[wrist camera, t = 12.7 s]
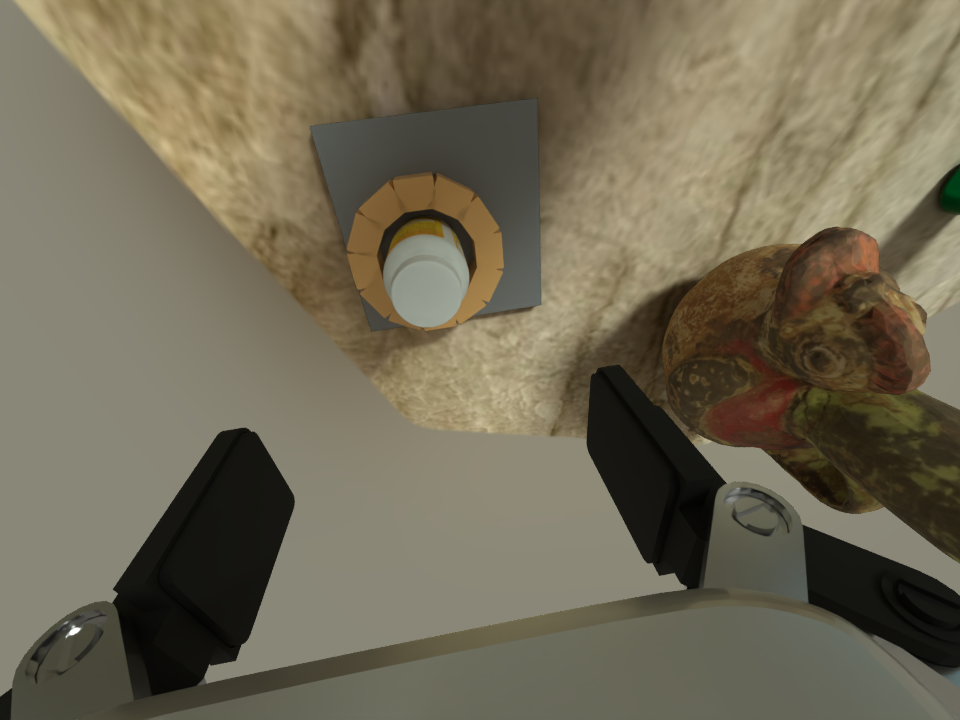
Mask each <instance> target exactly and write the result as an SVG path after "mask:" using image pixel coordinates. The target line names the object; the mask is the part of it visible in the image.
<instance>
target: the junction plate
mask: <svg viewBox="0 0 960 720" xmlns="http://www.w3.org/2000/svg"><path fill="white" fill-rule="evenodd" d="M310 130H311V133H312V136H313V140H314V143H315V146H316V150H317V153H318V156H319V160H320V163H321V166H322V169H323V173H324V176H325V179H326V183H327V186H328V189H329V193H330V196H331V199H332V203H333V206H334V209H335V213H336V216H337V219H338V223H339V226H340V229H341V233H342V236H343V239H344V243H345V246H346V249H347V246H348V242H349V238H350V234H351V230H352V226H353V222H354V218H355V215H356V212H357V211H358V210H359V208H360V206H361V205H362V204H363V203H364V202H365V201H366V200H367V199H368V198H370V197H371V196H372V195H373V194H374V193H375V192H376V191H377V190H378V189H380V188H381V187H382V186H383V185H384V184H385V183H386V182H387V181H389V180H390V179H391V180H392V181H393V179H394V177H396V176H403V175H411V174H419V173H426V172H432V174H433V180H434V179H435V176H436V173H439V174H441V175H443V176H445V177H447V178H450V179H452V180H454V181H456V182H458V183H460V184H462V185H464V186H467V187H469V188H471V190H472V191H473V192H475V193H476V194H477V195H478V197H479V198H480V199H481V201H482V202H483V204H484V205H485V207H486V208H487V210H488V211H489V213H490V214H491V216H492V217H493V219H494V220H495V222H496V223H497V225H498V226H499V227H500V228H499V230H500V231H501V234H502V248H503V261H504V268H501V269H502V271H503V274H502V276H501V278H500V280H499V282H498V284H497V286H496V289H495V291H494V293H493V295H492V297H491V299H490V301H489V302H487V301H485V303H486V306H485V307H484V308H482V309H481V310H480V311H478V312H477V313H475V314H474V315H481V314H487V313H494V312H500V311H507V310H513V309H519V308H526V307H532V306H539V305H541V257H540V203H539V148H538V98H533V99H524V100H516V101H508V102H500V103H492V104H484V105H476V106H468V107H460V108H452V109H444V110H435V111H427V112H419V113H411V114H403V115H395V116H387V117H379V118H371V119H363V120H355V121H347V122H338V123H330V124H322V125H314V126H310ZM418 216H432V217H436V218H438V219H441V220H443V221H444V222H446V223H447V224H448V225H449V226H450V227H451V228H452V229H453V230H454V231H455V233H456V235H457V237H458V239H459V241H460V244H461V247H462V250H463V253H464V256H465V259H466V262H467V266H468V269H469V267H470V264H471V262H472V259H473V251H472V242H471V236H470V235H469V234H468V232H467V231H466V230H465V228H464V227H463V226H462V224H461V223H460V221H459V220H458V219H455V218H453V217H451V216H448V215H446V214H444V213H441V212H439V211H437V210H435V209H426V210H419V211H412V212H405V213H404V214H403V215H401V216H400V217H399V218H398V219H397V220H396V221H394V222H393V223H392V224H391V225H390V226H389V227H387V228H386V229H385V232H384V235H383V238H382V242H381V245H380V248H381V252H382V256H383V260H384V264H385V261H386V258H387V254H388V251H389V247H390V244H391V241H392V238H393V236H394V234H395V232H396V230H397V229H398V228H399V226H400V225H401V224H403V223H404V222H405V221H407V220H409V219H411V218H414V217H418ZM348 252H349V251H348V250H347V253H348ZM360 291H361V289H359V292H360ZM360 296H361V295H360ZM361 299H362V302H363V306H364V309H365V312H366V316H367V319H368V322H369V326H370V329H371V332H372V331H378V330H385V329H391V328H397V327H404V325H401V324H397V323H394V322H391V321H388V320H389V315H388V316H387V317H386V318H384V317H383V316H382V315H381V314H380V313H379V312H378V311H377V310H376V309H375V308H374V307H373V306H372V305H371V304H370V303H369V302H367V301H366V300H365V299H364V298H363V297H362V296H361ZM474 315H473V316H474Z"/></svg>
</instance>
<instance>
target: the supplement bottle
mask: <svg viewBox="0 0 960 720" xmlns="http://www.w3.org/2000/svg"><path fill="white" fill-rule="evenodd" d="M383 281H384V286H385V289H386V292H387V294H388V296H389V298H390V299H391V301H392V304H393V306H394V308H395V310H396V312H397V313H398V314H399V315H400V316H401V317H402V318H403V319H404V320H405V321H407V322H408V323H410V324H412V325H415V326H418V327H436V326H440V325H442V324H444V323H446V322H447V321H449V320H450V319H451V318H452V317H453V316H454V315H455V314H456V313H457V311H458V309H459V307H460V305H461V302H462V300H463V299H464V297H465V295H466V293H467V290H468V286H469V270H468V266H467V262H466V259H465V256H464V253H463V250H462V247H461V244H460V241H459V239H458V237H457V235H456V233H455V231H454V230H453V229H452V228H451V227H450V226H449V225H448V224H447V223H446V222H444V221H443V220H441V219H438V218H436V217H432V216H418V217H414V218H411V219H409V220H407V221H405V222H404V223H403V224H401V225H400V226H399V228H398V229H397V230H396V232H395V234H394V236H393V238H392V241H391V244H390V247H389V251H388V254H387V258H386V261H385V265H384V270H383Z"/></svg>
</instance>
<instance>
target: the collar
mask: <svg viewBox="0 0 960 720" xmlns="http://www.w3.org/2000/svg"><path fill="white" fill-rule="evenodd" d="M426 209H435V210H437V211H439V212H441V213H444V214H446V215H448V216H451V217H453V218H455V219H458V220H459V221H460V223H461V224H462V226H463V227H464V228H465V230H466V231H467V232H468V234H469V235H470V236H471V242H472V251H473V259H472V262H471V264H470V267H469V269H468V270H469V286H468V290H467V293H466V295H465V297H464V299H463V300H462V302H461V305H460V307H459V309H458V311H457V313H456V314H455V315H454V316H453V317H452V318H451V319H450V320H449V321H447V322H446V323H444V324H442V325H440V326H436V327H424V331H429V330H435V329H441V328H448V327H454V326H457V325H456V320H457V321H458V322H459V323H460V324H462V323H463V322H465V321H466V320H467V319H469V318H470V317H471V316H473V315H474V314H475V313H477V312H478V311H480V310H481V309H482V308H484V307H485V306H486V303H485V301H487V302H489V301H490V299H491V297H492V295H493V293H494V291H495V289H496V286H497V284H498V282H499V280H500V278H501V276H502V274H503V271H502V269H501V268H504V261H503V248H502V234H501V231H500V230H499V228H500V227H499V226H498V225H497V223H496V222H495V220H494V219H493V217H492V216H491V214H490V213H489V211H488V210H487V208H486V207H485V205H484V204H483V202H482V201H481V199H480V198H479V197H478V195H477V194H476V193H475V192H473V191H472V190H471V188H469V187H467V186H464V185H462V184H460V183H458V182H456V181H454V180H452V179H450V178H447V177H445V176H443V175H441V174H439V173H436V176H435V179H434V180H433V174H432V172H426V173H419V174H411V175H403V176H396V177H394V179H393V181H392V180H391V179H390V180H389V181H387V182H386V183H385V184H384V185H383V186H382V187H381V188H380V189H378V190H377V191H376V192H375V193H374V194H373V195H372V196H371V197H370V198H368V199H367V200H366V201H365V202H364V203H363V204H362V205H361V206H360V208H359V210H358V211H357V212H356V215H355V218H354V222H353V226H352V230H351V234H350V238H349V242H348V246H347V249H346V250H348V251H349V252H348V253H347V258H348V261H349V265H350V268H351V271H352V274H353V278H354V281H355V284H356V288H357V290H359V289H361V291H360V295H361V296H362V297H363V298H364V299H365V300H366V301H367V302H369V303H370V304H371V305H372V306H373V307H374V308H375V309H376V310H377V311H378V312H379V313H380V314H381V315H382V316H383V317H384V318H386V317H387V316H388V315H389V320H388V321H391V322H394V323H397V324H401V325H404V326H407V327H410V328H413V329H416V330H419V331H420V330H421V328H422V327H418V326H415V325H412V324H410V323H408V322H407V321H405V320H404V319H403V318H402V317H401V316H400V315H399V314H398V313H397V312H396V310H395V308H394V306H393V304H392V301H391V299H390V298H389V296H388V294H387V292H386V289H385V286H384V281H383V270H384V265H385V264H384V260H383V256H382V252H381V248H380V245H381V242H382V238H383V235H384V232H385V229H386V228H387V227H389V226H390V225H391V224H392V223H393V222H394V221H396V220H397V219H398V218H399V217H400V216H401V215H403V214H404V213H405V212H412V211H419V210H426Z"/></svg>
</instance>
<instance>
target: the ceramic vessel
mask: <svg viewBox="0 0 960 720" xmlns="http://www.w3.org/2000/svg"><path fill="white" fill-rule="evenodd" d="M926 318H927V313H926V312H925V311H924V309H923V308H922V307H921V306H920V305H919V304H917V303H915V301H914V298H912V297H910V296H908V295H906V294H904V293H902V292H900V288H899V286H898V285H897V283H896V281H895V279H894V278H893V277H892V276H891V275H890V274H889V273H887V272H886V271H885V270H884V269H882V268H881V267H879V248H878V244H877V241H876V240H875V239H874V238H873V237H871V236H870V235H868V234H866V233H864V232H862V231H859V230H856V229H852V228H840V227H832V228H827V229H824V230H822V231H820V232H818V233H817V234H815V235H814V236H813V237H811V238H810V239H808V240H807V241H805V242H804V243H803V244H779V245H771V246H764V247H760V248H756V249H752V250H750V251H747V252H744V253H741V254H739V255H737V256H735V257H732V258H730V259H729V260H727V261H725V262H723V263H722V264H720V265H719V266H718V267H716V268H715V269H713V270H712V271H710V272H709V273H708V274H707V275H706V276H705V277H703V278H702V279H701V280H700V281H699V282H698V283H697V284H696V285H695V286H694V287H693V288H692V289H691V290H690V291H689V292H688V293H687V294H686V295H685V296H684V297H683V298H682V300H681V301H680V303H679V304H678V305H677V307H676V309H675V311H674V313H673V315H672V317H671V320H670V322H669V325H668V327H667V330H666V333H665V336H664V341H663V346H662V359H663V369H664V375H665V381H666V390H667V397H668V401H669V404H670V406H671V408H672V410H673V411H674V413H675V414H676V415H677V416H678V417H679V419H680V420H681V421H682V422H683V423H684V424H685V425H686V426H688V427H689V428H690V429H692V430H693V431H694V432H696V433H697V434H699V435H701V436H702V437H704V438H706V439H708V440H711V441H713V442H716V443H718V444H721V445H727V446H733V447H756V448H761V449H762V450H764V451H765V452H766V453H767V454H768V455H770V456H771V457H772V458H773V459H774V460H775V461H776V462H777V463H778V464H779V465H780V466H781V467H782V468H783V469H784V470H785V471H787V472H788V473H789V474H790V475H791V476H792V477H794V478H795V479H796V480H797V481H799V482H800V483H801V485H802V486H803V487H804V488H805V489H806V490H807V491H809V492H810V493H811V494H812V495H813V496H814V497H816V498H817V499H818V500H819V501H820V502H822V503H824V504H826V505H827V506H829V507H831V508H833V509H835V510H838V511H841V512H845V513H851V514H861V513H866V512H871V511H875V510H878V509H880V508H883V507H886V508H887V509H888V510H889V511H891V512H892V513H893V514H894V515H896V516H897V517H898V518H899V519H901V520H902V521H903V522H904V523H906V524H907V525H908V526H910V527H911V528H912V529H913V530H915V531H916V532H917V533H918V534H920V535H921V536H922V537H924V538H925V539H926V540H928V541H929V542H930V543H931V544H933V545H934V546H935V547H937V548H938V549H939V550H941V551H942V552H943V553H945V554H946V555H948V556H949V557H951V558H952V559H954V560H955V561H957V562H958V563H960V410H959V409H957V408H954V407H952V406H950V405H948V404H946V403H944V402H941V401H939V400H937V399H935V398H932V397H931V396H929V395H926V394H925V393H923V392H920V391H919V390H917V388H918V387H919V386H921V385H922V384H923V383H924V382H925V380H926V378H927V377H928V375H929V373H930V371H931V370H930V357H929V353H928V350H927V348H926V345H925V342H924V339H923V335H924V333H925V328H926Z"/></svg>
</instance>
